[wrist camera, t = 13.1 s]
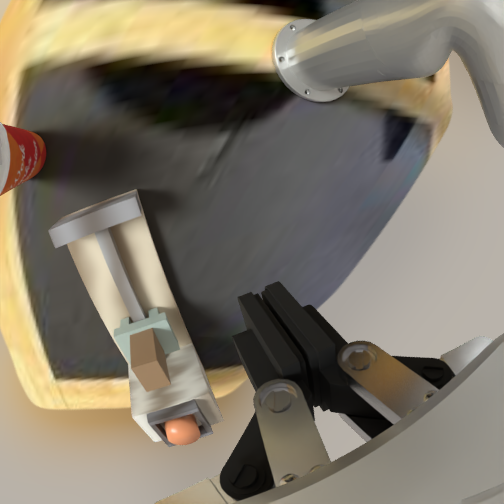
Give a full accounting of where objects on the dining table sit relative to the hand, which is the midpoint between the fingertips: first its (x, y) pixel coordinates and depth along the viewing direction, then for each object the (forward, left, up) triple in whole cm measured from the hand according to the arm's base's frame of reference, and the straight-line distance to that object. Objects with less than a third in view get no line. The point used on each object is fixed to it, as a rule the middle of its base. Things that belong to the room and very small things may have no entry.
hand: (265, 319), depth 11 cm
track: (+9, +11, -26) cm, 30 cm away
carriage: (+9, +14, -24) cm, 29 cm away
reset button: (+9, +22, -14) cm, 28 cm away
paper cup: (+16, -12, -26) cm, 33 cm away
